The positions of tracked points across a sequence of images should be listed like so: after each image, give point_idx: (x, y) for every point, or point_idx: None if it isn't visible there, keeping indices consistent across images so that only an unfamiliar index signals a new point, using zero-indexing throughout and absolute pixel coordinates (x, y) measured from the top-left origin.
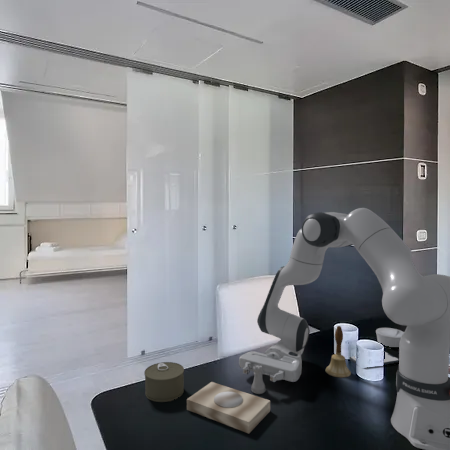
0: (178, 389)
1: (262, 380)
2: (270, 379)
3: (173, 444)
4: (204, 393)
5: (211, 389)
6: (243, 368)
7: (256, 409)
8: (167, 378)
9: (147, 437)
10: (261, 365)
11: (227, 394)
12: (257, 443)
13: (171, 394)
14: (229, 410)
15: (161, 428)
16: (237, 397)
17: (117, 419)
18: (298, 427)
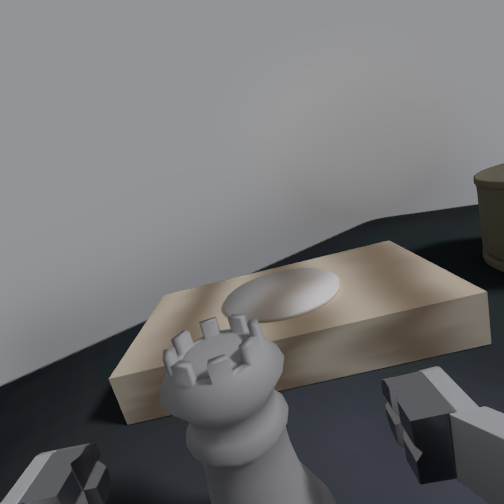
0: (494, 238)
1: (210, 497)
2: (99, 466)
3: (297, 253)
4: (386, 264)
5: (400, 279)
6: (432, 367)
7: (158, 322)
8: (491, 177)
9: (349, 237)
10: (178, 363)
11: (305, 294)
12: (144, 323)
13: (482, 237)
14: (239, 283)
15: (357, 246)
16: (255, 307)
17: (448, 215)
18: (5, 423)
